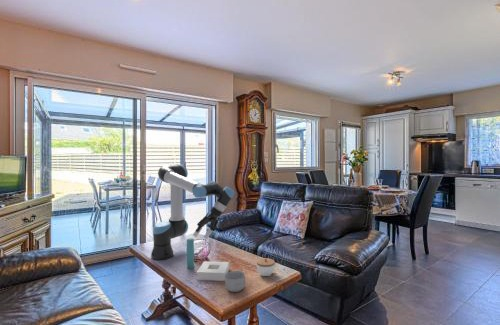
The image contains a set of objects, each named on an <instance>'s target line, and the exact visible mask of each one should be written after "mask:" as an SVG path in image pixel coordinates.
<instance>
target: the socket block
mask: <svg viewBox="0 0 500 325" xmlns="http://www.w3.org/2000/svg"><path fill="white" fill-rule="evenodd" d="M228 272H230V262H229V261H206V260H205V261H202V264H201V265H200V267H199V268H198V270H197V271H196V281H218V282H222V281H223V282H225V274H226V273H228Z"/></svg>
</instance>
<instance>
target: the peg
mask: <svg viewBox="0 0 500 325" xmlns="http://www.w3.org/2000/svg"><path fill="white" fill-rule="evenodd" d="M194 239H195V238H192V237H191V238H190V237H189V238H187V239H186V269H187V270H192V269H194V268H195V244H194V242H195V240H194Z"/></svg>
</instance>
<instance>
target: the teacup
mask: <svg viewBox="0 0 500 325" xmlns="http://www.w3.org/2000/svg"><path fill="white" fill-rule="evenodd" d="M224 282H225V288H226V289H227V290H228V291H229V292H231V293H238V292H240V291H242V290H243V289H244V288H245V286H246V273H245V272H244V271H243V269H238V270H231V271H228V273H226V274H225V281H224Z"/></svg>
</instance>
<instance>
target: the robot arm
mask: <svg viewBox="0 0 500 325" xmlns="http://www.w3.org/2000/svg"><path fill="white" fill-rule="evenodd" d="M188 174H189V173H188V170H187V168H186V167H185V165H183V164H178V163H177V164H176V163H175V164H164V165H162V166H160V167H159V169H158V172H157V176H158V178H159V179H160V181H162V182H164V183H166V184H169V185H170V217H169V218H168V221H160V222H157V223H156V224H154V225H153V230H152V233H153V234H152V235H153V248H152V249H151V250H152V251H151V254H150V259H152V260H154V259H156V261H162V260H163V261H164V260H168V259H171V258H173V257H174V249H173V246H172V239H175V238H178V237H182V236H184V235H185V234H187V232H188V229H189V223H188V222H187V221H186V219H185V217H184V216H183V214H184V213H183V212H184V211H183V209H184V207H183V190H184V191H187V192H190V193H191V194H192V195H193V196H194V197H195V198H198V199H199V198H200V199H202V198H205V197H211V196H215V197H216V199H217V200H216V201H215V203H214V204H213V206H212V207H211V209H210V213H209V212H207V213H206V214H205V216H204V217H203V218H202V219H200V220H199V221H198V222H197V224H196V225H197V228H196V229H195V231H194V232H193V234H192V235H193V237H195V238H197V237H198V235H199V234H200V233H201V231H202V229H203V227H205V226H206V225H207V224H209V223H210V227H209V228H208V229H207V230H206V232H205V234H204V236H203V238H205V239H206V240H208V239H209V237H210V235H211V234H212V232H215V230H216V229H217V226H218V223H219V220H220V217H221V216H222V215H223V212H224V211H225V210H226V209H227V207H228V204H230V202H231V200H232V199H233V198H234V195H235V191H234V190H233V189H232V188H230V187H228V186H225V187H223V186H222V185H220V184H219V183H217V182H216V181H214V180H210V181H209V182H207V184H202V183H199V182H197V181H195V180H192V179H190V178H188Z"/></svg>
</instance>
